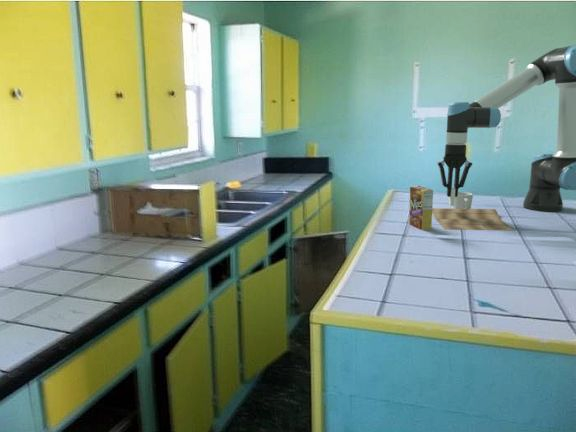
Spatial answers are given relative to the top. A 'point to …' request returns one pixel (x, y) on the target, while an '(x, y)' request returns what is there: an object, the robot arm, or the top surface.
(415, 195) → the candy box
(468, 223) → the laid panel
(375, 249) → the top surface
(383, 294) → the top surface
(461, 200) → the cup
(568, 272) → the top surface
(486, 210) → the plank
